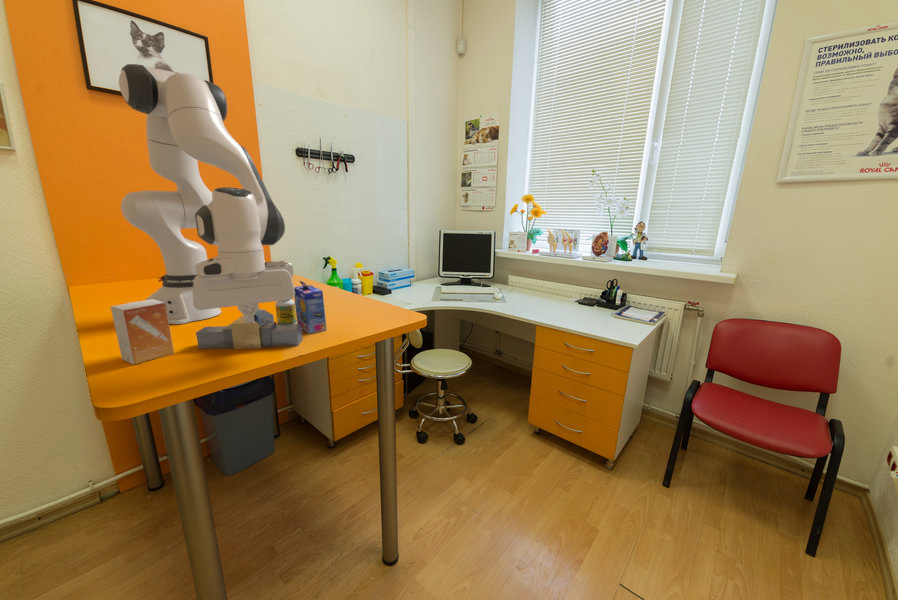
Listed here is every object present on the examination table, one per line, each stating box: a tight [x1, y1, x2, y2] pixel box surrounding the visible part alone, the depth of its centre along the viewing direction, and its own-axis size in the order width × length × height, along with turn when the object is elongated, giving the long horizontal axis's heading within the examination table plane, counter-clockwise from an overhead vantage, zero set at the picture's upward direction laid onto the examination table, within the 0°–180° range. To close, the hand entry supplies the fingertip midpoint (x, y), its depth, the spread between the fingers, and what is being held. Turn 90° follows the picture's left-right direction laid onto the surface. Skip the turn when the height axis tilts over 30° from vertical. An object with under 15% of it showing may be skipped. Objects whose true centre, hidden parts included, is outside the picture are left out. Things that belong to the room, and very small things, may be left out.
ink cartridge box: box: [293, 280, 328, 334], centre depth 104 cm, size 10×6×14 cm, turn 43°
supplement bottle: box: [274, 299, 297, 325], centre depth 107 cm, size 5×5×10 cm
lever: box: [243, 304, 275, 325], centre depth 86 cm, size 15×3×2 cm, turn 45°
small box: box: [110, 299, 175, 366], centre depth 83 cm, size 8×6×13 cm
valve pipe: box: [195, 315, 304, 350], centre depth 92 cm, size 24×6×9 cm, turn 98°
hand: (250, 322), depth 82 cm, fingers closed
